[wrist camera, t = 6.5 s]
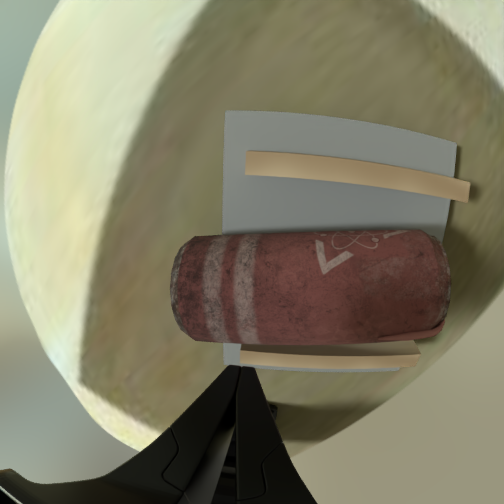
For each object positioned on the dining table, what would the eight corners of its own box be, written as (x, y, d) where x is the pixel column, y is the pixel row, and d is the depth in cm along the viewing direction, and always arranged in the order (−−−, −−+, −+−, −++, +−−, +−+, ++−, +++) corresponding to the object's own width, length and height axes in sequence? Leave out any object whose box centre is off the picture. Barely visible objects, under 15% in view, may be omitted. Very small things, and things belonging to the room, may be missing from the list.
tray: (395, 362, 21) (404, 386, 18) (226, 356, 22) (219, 382, 19) (449, 142, 14) (474, 144, 12) (228, 112, 16) (217, 106, 13)
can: (155, 322, 12) (467, 318, 9) (183, 215, 16) (435, 206, 13) (200, 355, 17) (422, 353, 14) (214, 269, 21) (409, 265, 18)
